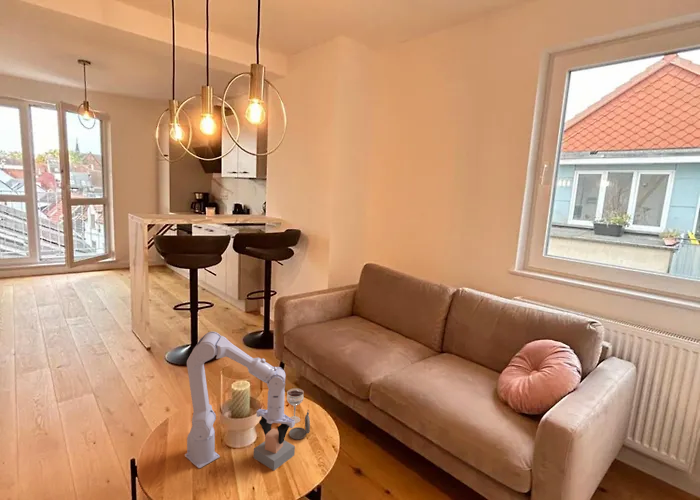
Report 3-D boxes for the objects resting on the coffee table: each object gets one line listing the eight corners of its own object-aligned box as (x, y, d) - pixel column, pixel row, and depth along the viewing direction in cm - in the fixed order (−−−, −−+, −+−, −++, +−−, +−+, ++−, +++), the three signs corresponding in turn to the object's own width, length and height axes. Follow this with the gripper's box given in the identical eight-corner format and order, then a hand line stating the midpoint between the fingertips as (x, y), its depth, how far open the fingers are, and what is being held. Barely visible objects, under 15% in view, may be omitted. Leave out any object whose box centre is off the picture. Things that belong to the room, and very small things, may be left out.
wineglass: (283, 422, 158) (284, 395, 156) (289, 413, 165) (290, 387, 163) (299, 426, 157) (300, 398, 155) (304, 416, 163) (306, 389, 161)
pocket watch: (285, 434, 151) (286, 410, 149) (302, 425, 157) (303, 402, 156) (299, 444, 146) (300, 419, 144) (316, 435, 152) (317, 411, 150)
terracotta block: (264, 449, 137) (265, 435, 136) (272, 441, 141) (272, 427, 140) (275, 453, 135) (276, 438, 134) (283, 445, 139) (283, 431, 138)
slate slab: (253, 458, 137) (253, 448, 137) (274, 444, 145) (274, 434, 145) (273, 471, 132) (274, 461, 131) (294, 456, 140) (294, 445, 139)
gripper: (251, 403, 135) (250, 439, 137) (287, 415, 129) (286, 453, 131) (263, 394, 141) (262, 429, 143) (298, 405, 135) (297, 441, 137)
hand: (274, 439), depth 137 cm, fingers open, 5 cm apart
